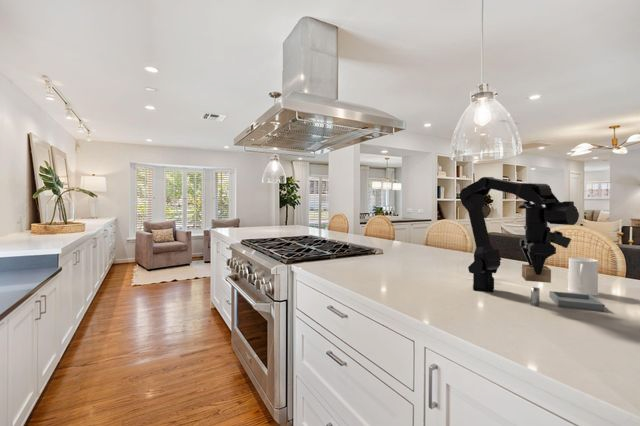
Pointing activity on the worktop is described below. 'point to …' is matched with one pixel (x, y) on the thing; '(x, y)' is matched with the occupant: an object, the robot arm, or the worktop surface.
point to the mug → (583, 276)
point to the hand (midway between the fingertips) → (535, 272)
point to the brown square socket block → (530, 274)
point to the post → (535, 296)
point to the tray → (576, 301)
